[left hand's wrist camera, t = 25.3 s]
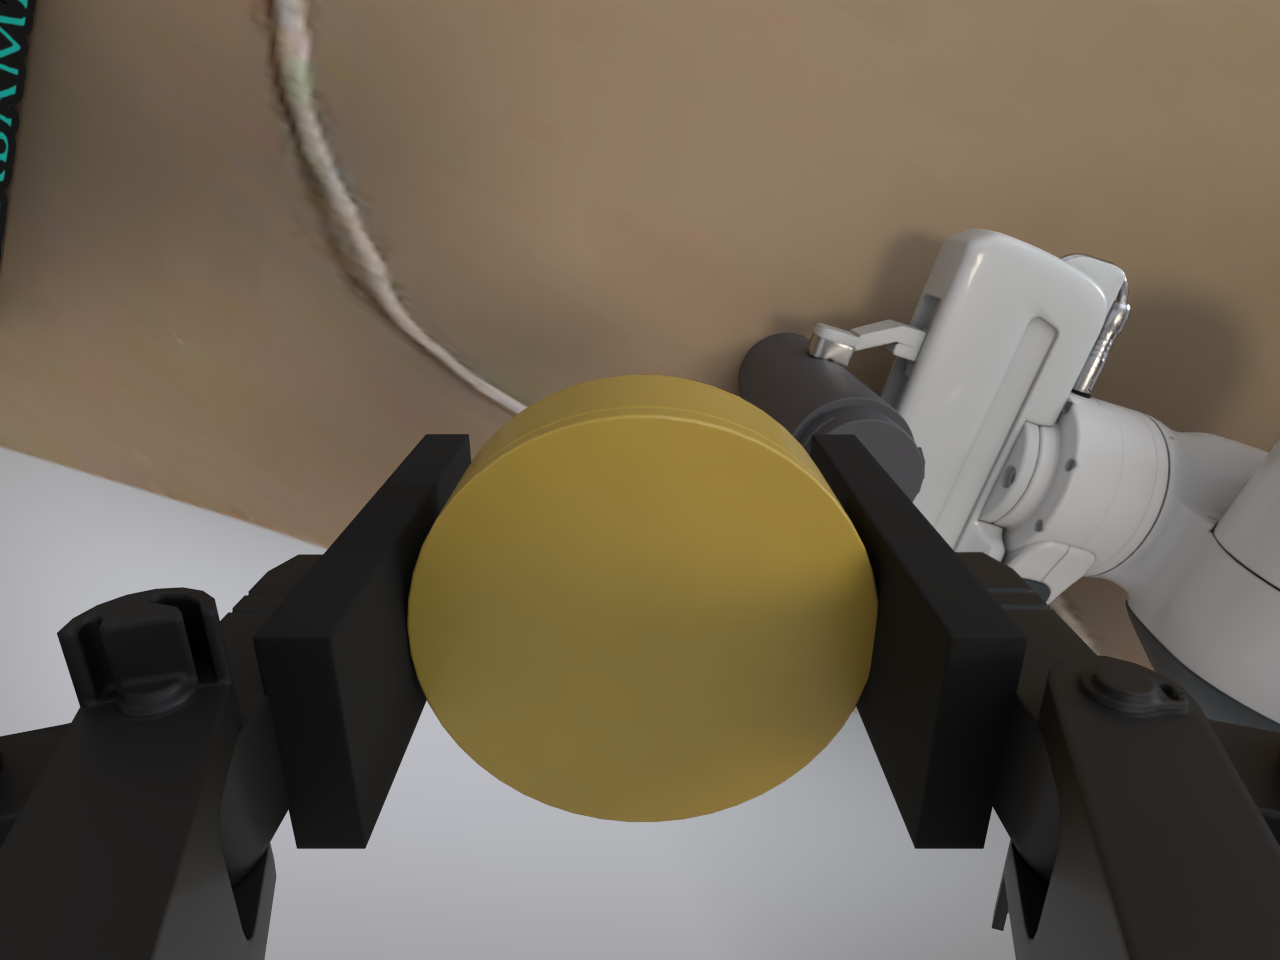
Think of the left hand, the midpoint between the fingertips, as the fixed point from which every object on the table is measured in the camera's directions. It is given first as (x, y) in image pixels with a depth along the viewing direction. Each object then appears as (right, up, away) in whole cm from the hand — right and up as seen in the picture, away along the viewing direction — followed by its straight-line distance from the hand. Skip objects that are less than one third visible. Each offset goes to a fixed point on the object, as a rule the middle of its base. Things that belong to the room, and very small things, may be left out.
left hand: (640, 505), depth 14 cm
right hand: (+7, +4, +24) cm, 25 cm away
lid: (0, -2, -4) cm, 4 cm away
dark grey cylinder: (+8, +6, +30) cm, 31 cm away
